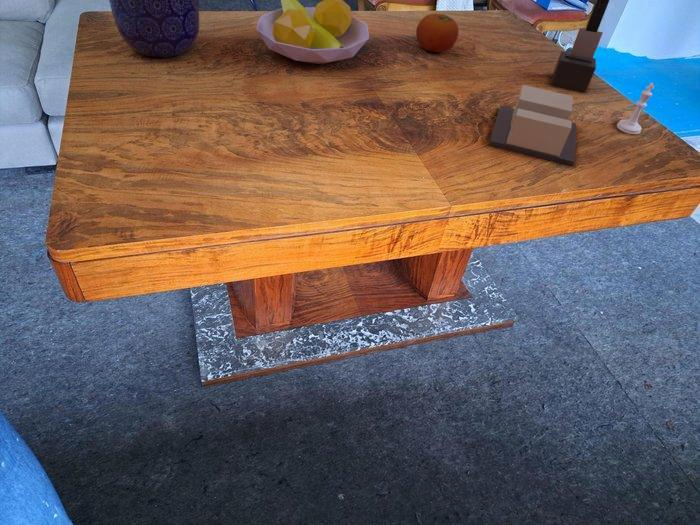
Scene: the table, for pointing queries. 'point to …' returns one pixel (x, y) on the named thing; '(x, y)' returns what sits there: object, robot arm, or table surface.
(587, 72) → the knife block
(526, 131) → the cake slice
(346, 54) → the fruit bowl
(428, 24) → the fruit
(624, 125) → the chess piece
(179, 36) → the planter
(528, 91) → the cake
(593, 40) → the knife
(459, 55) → the table surface
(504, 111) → the cake board
